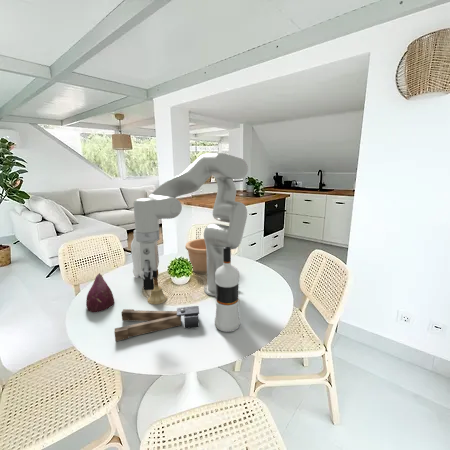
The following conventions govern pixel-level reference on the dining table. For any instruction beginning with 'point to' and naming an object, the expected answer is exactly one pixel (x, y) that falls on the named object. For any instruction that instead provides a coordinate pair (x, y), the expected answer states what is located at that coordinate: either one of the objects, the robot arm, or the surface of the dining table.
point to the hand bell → (157, 293)
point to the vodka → (227, 294)
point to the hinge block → (189, 316)
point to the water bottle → (136, 257)
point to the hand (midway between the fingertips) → (150, 283)
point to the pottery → (197, 255)
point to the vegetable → (99, 296)
